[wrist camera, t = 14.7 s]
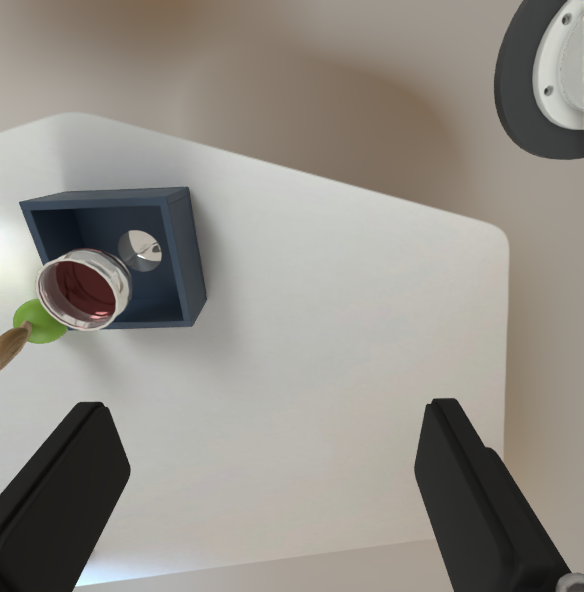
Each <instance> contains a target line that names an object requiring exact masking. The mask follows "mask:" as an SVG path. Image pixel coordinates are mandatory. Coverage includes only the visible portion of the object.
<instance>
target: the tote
mask: <svg viewBox="0 0 584 592" xmlns="http://www.w3.org/2000/svg"><path fill="white" fill-rule="evenodd" d="M19 204H20V207H21V209H22V211H23V214H24V217H25V220H26V222H27V225H28V227H29V230H30V233H31V235H32V238H33V240H34V243H35V245H36V248H37V251H38V253H39V256H40V258H41V261H42V264H43V266H44V265H45V264H46V263H48V262H51V261H53V260H55V259H58V258H59V257H60V256H61V255H62V254H65V253H67V252H69V251H71V250H74V249H80V248H93V249H98V250H102V251H106V252H108V253H110V254H112V255H114V256H115V257H117V258H118V259H119V260H120V261H122V258H121V257H120V255H119V251H118V242H119V240H120V238H121V236H123V235H124V234H125V233H126V232H129V231H134V230H138V231H142V232H145V233H147V234H149V235H151V236H152V237H153V238H154V239H155V240H156V241H157V243H158V244H159V246H160V249H161V253H162V255H161V261H160V263H159V265H158V266H157V267H156V268H155V269H153V270H150V271H144V272H141V271H137V270H134V269H132V268H131V267H129V266H128V265H126V268H127V269H128V271H129V272H130V274H131V277H132V281H133V294H132V298H131V300H130V302H129V304H128V306H127V308H126V309H125V310H124V311H123V312H122V313H121V314H120V315H118V316H117V317H115V318H114V320H113V321H112V322H111V323H110V324H109V325H107V326H106V327H104V328H101V329H132V328H167V327H192V326H193V324H194V323H195V321H196V319H197V317H198V315H199V314H200V312H201V310H202V308H203V306H204V304H205V303H206V301H207V296H206V290H205V284H204V278H203V272H202V266H201V260H200V254H199V248H198V242H197V236H196V231H195V225H194V219H193V213H192V207H191V201H190V195H189V189H188V187H171V188H146V189H121V190H96V191H71V192H62V193H57V194H53V195H48V196H44V197H39V198H35V199H30V200H26V201H21V202H19ZM66 326H67V325H66ZM67 328H68V330H78V329H74V328H71V327H69V326H67Z"/></svg>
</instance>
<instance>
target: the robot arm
mask: <svg viewBox="0 0 584 592" xmlns="http://www.w3.org/2000/svg"><path fill="white" fill-rule="evenodd" d="M532 83H533V92H534V96H535V99H536V102H537V105H538V107H539V109H540V110H541V112H542V113H543V115H544V116H545V117H546V118H547V119H548V120H549V121H550V122H552V123H554V124H556V125H557V126H559V127H562V128H567V129H571V130H584V0H568V1H567V2H566V3H565V4H564V5H563V6H562V7H561V8H560V10H559V11H558V12H557V14H556V15H555V16H554V18H553V19H552V20H551V22H550V24H549V26H548V28H547V29H546V31H545V33H544V35H543V37H542V39H541V42H540V44H539V47H538V50H537V53H536V57H535V61H534V66H533V77H532ZM544 90H545V93H544ZM414 470H415V477H416V481H417V483H418V486H419V489H420V492H421V495H422V498H423V501H424V504H425V507H426V510H427V513H428V516H429V519H430V522H431V525H432V528H433V531H434V534H435V537H436V540H437V543H438V546H439V549H440V551H441V554H442V557H443V560H444V563H445V566H446V569H447V572H448V575H449V578H450V581H451V584H452V587H453V589H454V592H584V574H581V573H572V572H571V571H570V569H569V568H568V566H567V564H566V563H565V561H564V560H563V558H562V556H561V555H560V553H559V552H558V550H557V548H556V547H555V545H554V544H553V542H552V540H551V539H550V537H549V536H548V534H547V532H546V531H545V529H544V528H543V526H542V524H541V523H540V521H539V519H538V518H537V516H536V515H535V513H534V511H533V510H532V508H531V507H530V505H529V503H528V502H527V500H526V499H525V497H524V495H523V494H522V492H521V491H520V489H519V487H518V486H517V484H516V483H515V481H514V480H513V478H512V476H511V475H510V473H509V471H508V470H507V468H506V466H505V465H504V463H503V462H502V460H501V458H500V457H499V456H498V454H497V453H496V452H495V451H494V450H493V449H492V448H488V447H485V446H484V444H483V442H482V441H481V439H480V437H479V436H478V434H477V432H476V431H475V429H474V427H473V426H472V424H471V422H470V421H469V419H468V417H467V416H466V414H465V412H464V411H463V409H462V407H461V406H460V404H459V402H458V401H457V400H456V399H455V398H440V399H433V400H432V403H431V404H427V405H426V408H425V413H424V418H423V424H422V429H421V434H420V439H419V445H418V450H417V455H416V460H415V467H414ZM130 471H131V468H130V464H129V462H128V459H127V456H126V453H125V451H124V448H123V445H122V443H121V440H120V437H119V435H118V432H117V429H116V427H115V424H114V421H113V418H112V416H111V413H110V410H109V408H108V407H105V406H104V404H103V403H102V402H80V403H77V404H76V405H75V406H74V407H73V409H72V410H71V411H70V412H69V413H68V415H67V416H66V417H65V418H64V419H63V421H62V422H61V423H60V424H59V425H58V427H57V428H56V429H55V430H54V431H53V432H52V434H51V435H50V436H49V437H48V438H47V440H46V441H45V442H44V443H43V444H42V446H41V447H40V448H39V449H38V450H37V452H36V453H35V454H34V455H33V456H32V457H31V459H30V460H29V461H28V462H27V463H26V465H25V466H24V467H23V468H22V469H21V471H20V472H19V473H18V474H17V475H16V477H15V478H14V479H13V480H12V481H11V482H10V484H9V485H8V486H7V487H6V488H5V490H4V491H3V492H2V493H1V494H0V592H72V591H73V589H74V587H75V585H76V583H77V581H78V579H79V577H80V575H81V573H82V571H83V569H84V567H85V565H86V563H87V561H88V559H89V557H90V555H91V553H92V551H93V549H94V547H95V545H96V543H97V541H98V539H99V537H100V535H101V533H102V531H103V529H104V527H105V525H106V523H107V521H108V519H109V517H110V515H111V513H112V511H113V509H114V507H115V505H116V503H117V501H118V499H119V497H120V495H121V493H122V492H123V490H124V488H125V486H126V484H127V482H128V479H129V476H130Z"/></svg>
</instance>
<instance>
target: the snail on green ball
mask: <svg viewBox="0 0 584 592" xmlns="http://www.w3.org/2000/svg"><path fill="white" fill-rule="evenodd" d="M13 327H14V328H12V329H10V330H8V331H7V332H5V333H4V334H3V335H1V336H0V370H2V369H3V368H4V367H5V366H6V365H7V364H8V363H9V362H10V361H11V360H12V359H13V358H14V357H15V356H16V355H17V354H18V353H19V352H20V351H21V349H22V348H23V346H24V345H25V343H26V342H27V341H28V342H31V343H37V344H43V343H49V342H52V341H55V340H57V339H58V338H60V337H61V336H62V335H63V334H64V333H65V332H66V330H67V329H68V328H67V326H66V325H64V324H62V323H60V322H59V321H58V320H56V319H55V318H54V317H52V316H51V315H50V314H49V313H48V312H47V311H46V309H45V308H44V307H43V306H42V304H41V302H40V300H39V299H34V300H31V301H28V302H26V303H24V304H23V305H22V306H20V307H19V308H18V310H17V311H16V313H15V315H14V318H13Z"/></svg>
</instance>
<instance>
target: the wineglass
mask: <svg viewBox="0 0 584 592" xmlns="http://www.w3.org/2000/svg"><path fill="white" fill-rule="evenodd" d="M118 251H119V255H120V257H121V258H122V261H120V260H119V259H118V258H117V257H115V256H114V255H112V254H110V253H108V252H106V251H102V250H98V249H93V248H80V249H74V250H71V251H69V252H67V253H65V254H62V255H61V256H60V257H59V258H58V259H55V260H53V261H51V262H48V263H46V264H45V265H44V266H43V267H42V268H41V269H40V270H39V272H38V275H37V278H36V281H35V283H36V293H37V295H38V298H39V300H40V302H41V304H42V306H43V307H44V308H45V309H46V311H47V312H48V313H49V314H50V315H51V316H52V317H54V318H55V319H56V320H58V321H59V322H60V323H62V324H64V325H67V326H69V327H71V328H74V329H78V330H83V331H91V330H98V329H101V328H104V327H106V326H107V325H109V324H110V323H111V322H112V321H113V320H114V318H115V317H117V316H118V315H120V314H121V313H122V312H123V311H124V310H125V309H126V308H127V306H128V304H129V302H130V300H131V298H132V294H133V281H132V277H131V274H130V272H129V271H128V269H127V268H126V265H128V266H129V267H131V268H132V269H134V270H137V271H141V272H144V271H150V270H153V269H155V268H156V267H157V266H158V265H159V263H160V261H161V255H162V253H161V249H160V246H159V244H158V243H157V241H156V240H155V239H154V238H153V237H152V236H151V235H149V234H147V233H145V232H142V231H138V230H134V231H129V232H126V233H125V234H124V235H123V236H121V238H120V240H119V242H118Z"/></svg>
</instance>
